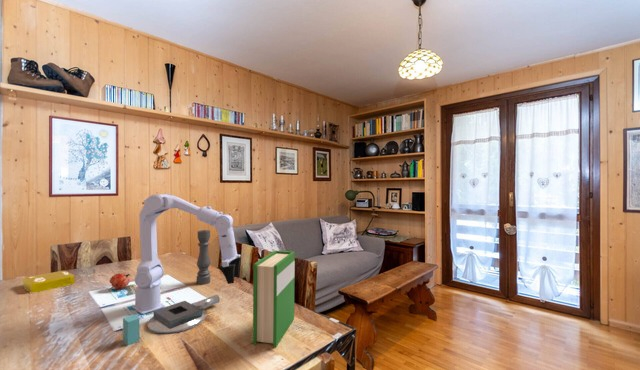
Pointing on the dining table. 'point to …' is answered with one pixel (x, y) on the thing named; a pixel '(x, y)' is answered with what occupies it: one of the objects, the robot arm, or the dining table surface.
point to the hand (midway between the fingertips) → (233, 279)
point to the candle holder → (203, 258)
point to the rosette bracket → (180, 316)
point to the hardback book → (273, 296)
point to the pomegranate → (119, 281)
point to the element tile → (48, 281)
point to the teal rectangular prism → (131, 329)
